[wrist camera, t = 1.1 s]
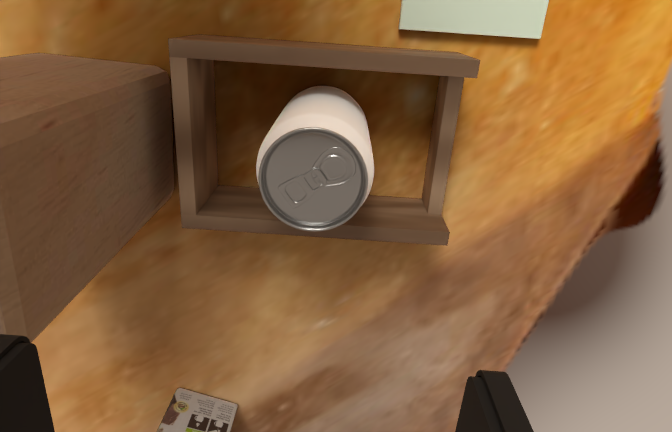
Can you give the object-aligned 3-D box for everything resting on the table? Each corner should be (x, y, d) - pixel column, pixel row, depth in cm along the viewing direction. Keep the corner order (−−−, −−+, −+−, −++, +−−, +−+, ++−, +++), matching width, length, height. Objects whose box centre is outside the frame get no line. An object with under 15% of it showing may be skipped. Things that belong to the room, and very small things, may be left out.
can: (383, 141, 35) (400, 199, 24) (312, 185, 37) (297, 259, 26) (336, 66, 33) (331, 92, 22) (262, 115, 35) (223, 163, 24)
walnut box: (198, 34, 32) (168, 38, 27) (457, 52, 33) (480, 60, 27) (206, 196, 37) (181, 227, 32) (432, 211, 37) (447, 245, 32)
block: (174, 65, 33) (-36, 129, 15) (178, 196, 37) (16, 373, 19) (32, 50, 33) (-357, 95, 15) (52, 183, 37) (-237, 349, 19)
